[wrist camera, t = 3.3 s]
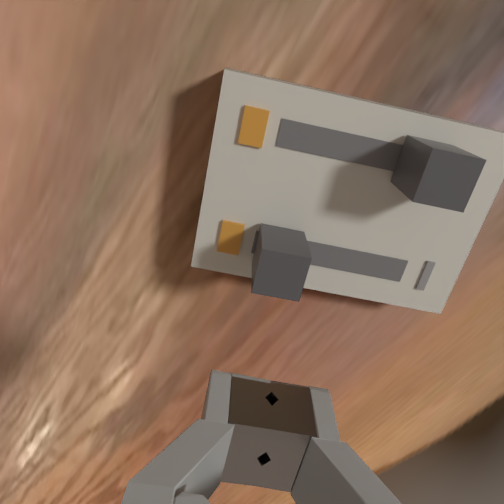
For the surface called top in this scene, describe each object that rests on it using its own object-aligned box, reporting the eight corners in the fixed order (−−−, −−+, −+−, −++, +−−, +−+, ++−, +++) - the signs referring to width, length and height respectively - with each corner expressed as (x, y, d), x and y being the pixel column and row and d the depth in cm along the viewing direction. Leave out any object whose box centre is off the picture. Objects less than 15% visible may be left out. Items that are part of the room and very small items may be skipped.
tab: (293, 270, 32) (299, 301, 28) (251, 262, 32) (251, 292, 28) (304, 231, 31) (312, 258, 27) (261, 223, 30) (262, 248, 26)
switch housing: (422, 288, 37) (442, 315, 34) (197, 245, 36) (190, 268, 32) (492, 128, 32) (525, 138, 28) (227, 67, 30) (223, 69, 26)
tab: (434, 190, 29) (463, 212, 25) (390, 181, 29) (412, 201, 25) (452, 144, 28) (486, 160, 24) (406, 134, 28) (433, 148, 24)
